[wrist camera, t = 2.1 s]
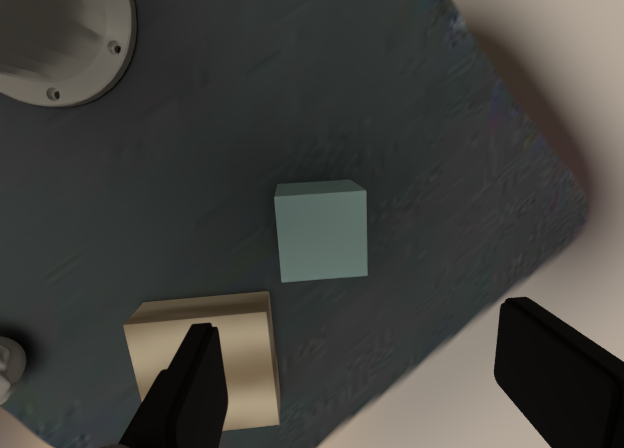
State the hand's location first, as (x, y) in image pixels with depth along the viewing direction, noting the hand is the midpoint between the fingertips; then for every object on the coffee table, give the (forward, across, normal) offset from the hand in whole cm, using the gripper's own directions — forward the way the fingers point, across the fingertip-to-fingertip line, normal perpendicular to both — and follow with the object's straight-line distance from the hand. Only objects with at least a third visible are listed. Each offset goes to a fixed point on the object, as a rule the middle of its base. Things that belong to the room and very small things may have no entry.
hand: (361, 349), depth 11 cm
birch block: (+18, +10, +12) cm, 24 cm away
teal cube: (+18, 0, 0) cm, 18 cm away
